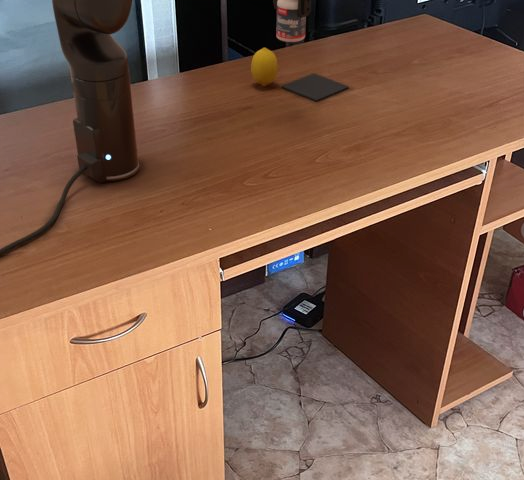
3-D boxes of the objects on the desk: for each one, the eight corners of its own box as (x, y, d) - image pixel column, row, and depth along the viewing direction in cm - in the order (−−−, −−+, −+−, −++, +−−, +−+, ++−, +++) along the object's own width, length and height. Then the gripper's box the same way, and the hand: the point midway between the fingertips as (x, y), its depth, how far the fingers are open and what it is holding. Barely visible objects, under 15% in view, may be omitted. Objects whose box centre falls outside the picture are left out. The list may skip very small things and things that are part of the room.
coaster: (316, 101, 159) (316, 99, 159) (281, 87, 164) (281, 85, 164) (348, 88, 164) (348, 86, 164) (313, 75, 170) (313, 73, 170)
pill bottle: (272, 40, 142) (272, -12, 136) (281, 31, 146) (282, -20, 140) (300, 44, 140) (301, -9, 135) (309, 34, 144) (311, -17, 138)
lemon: (267, 93, 162) (267, 54, 157) (245, 87, 165) (245, 48, 159) (282, 85, 165) (283, 46, 160) (261, 79, 168) (262, 41, 163)
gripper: (247, -98, 131) (248, 8, 142) (310, -83, 123) (306, 27, 134) (279, -105, 135) (277, -2, 146) (341, -91, 127) (335, 17, 138)
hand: (291, 12), depth 140 cm, fingers closed on pill bottle, 5 cm apart
